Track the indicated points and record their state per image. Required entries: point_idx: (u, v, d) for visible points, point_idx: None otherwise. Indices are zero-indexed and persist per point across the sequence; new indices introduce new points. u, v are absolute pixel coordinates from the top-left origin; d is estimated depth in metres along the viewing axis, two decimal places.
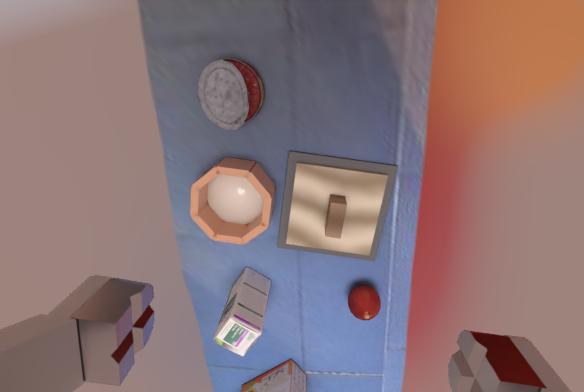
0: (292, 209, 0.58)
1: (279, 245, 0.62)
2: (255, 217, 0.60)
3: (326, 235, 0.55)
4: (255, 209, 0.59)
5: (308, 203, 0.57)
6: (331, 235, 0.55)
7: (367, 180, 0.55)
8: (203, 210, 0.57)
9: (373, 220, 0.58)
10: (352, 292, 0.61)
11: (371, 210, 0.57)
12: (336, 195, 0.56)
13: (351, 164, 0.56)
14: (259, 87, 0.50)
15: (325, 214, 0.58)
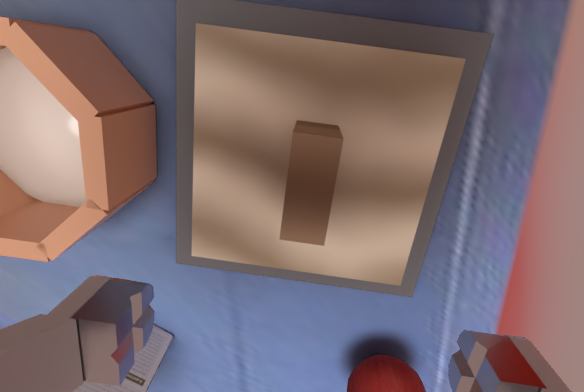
0: (198, 166, 0.22)
1: (180, 259, 0.25)
2: None
3: (282, 236, 0.19)
4: None
5: (237, 148, 0.21)
6: (297, 236, 0.19)
7: (403, 76, 0.19)
8: None
9: (415, 195, 0.21)
10: (357, 375, 0.25)
11: (412, 166, 0.21)
12: (312, 123, 0.20)
13: (356, 30, 0.19)
14: None
15: (286, 179, 0.22)
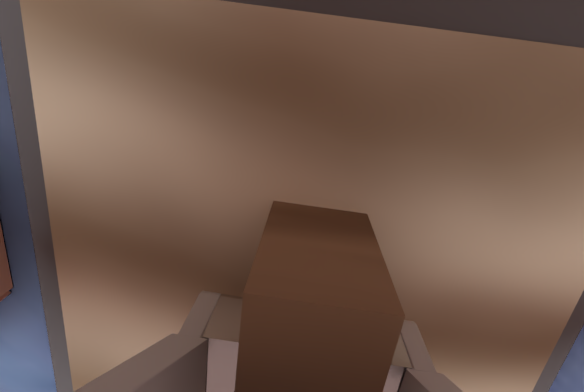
0: (69, 287, 0.10)
1: None
2: None
3: None
4: None
5: (147, 254, 0.10)
6: None
7: (530, 105, 0.08)
8: None
9: (527, 352, 0.10)
10: None
11: (528, 298, 0.09)
12: (309, 212, 0.08)
13: None
14: None
15: None
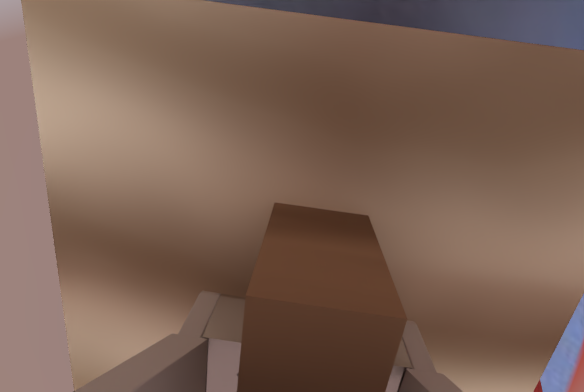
0: (70, 288, 0.10)
1: None
2: None
3: None
4: None
5: (149, 256, 0.10)
6: None
7: (531, 107, 0.08)
8: None
9: (528, 353, 0.10)
10: None
11: (528, 299, 0.09)
12: (310, 214, 0.09)
13: None
14: None
15: None
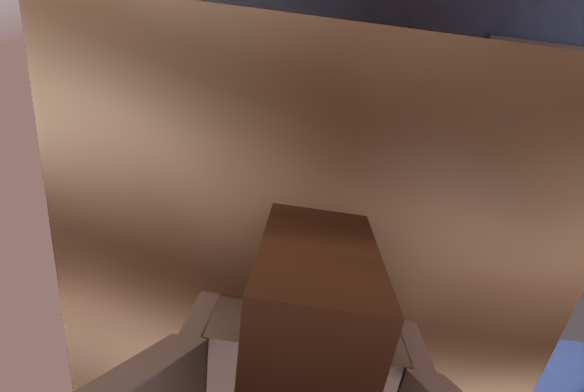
0: (68, 289, 0.10)
1: None
2: None
3: None
4: None
5: (147, 256, 0.10)
6: None
7: (530, 107, 0.08)
8: None
9: (527, 354, 0.10)
10: None
11: (527, 300, 0.09)
12: (308, 214, 0.08)
13: None
14: None
15: None
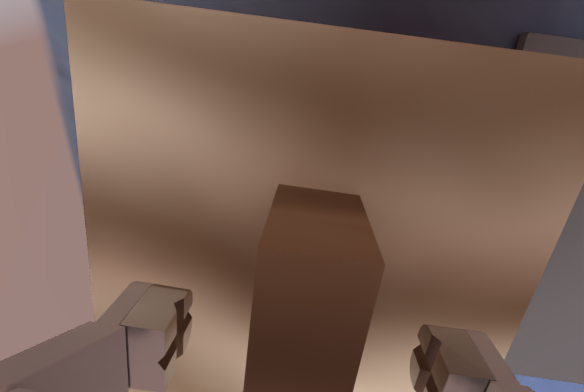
0: (98, 262, 0.12)
1: None
2: None
3: None
4: None
5: (168, 232, 0.11)
6: None
7: (497, 101, 0.09)
8: None
9: (501, 318, 0.11)
10: None
11: (500, 270, 0.11)
12: (309, 193, 0.10)
13: None
14: None
15: None
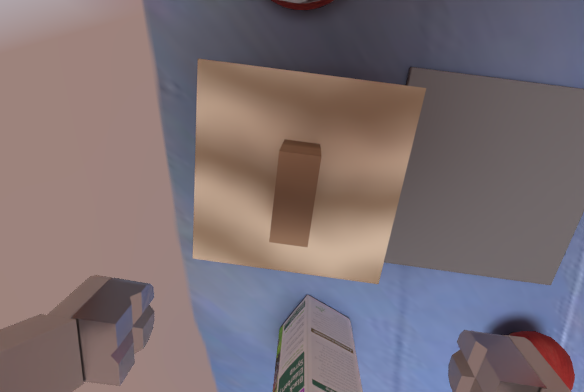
0: (199, 179, 0.25)
1: None
2: None
3: (272, 239, 0.22)
4: None
5: (233, 163, 0.24)
6: (284, 239, 0.22)
7: (374, 102, 0.22)
8: None
9: (388, 203, 0.25)
10: None
11: (384, 178, 0.24)
12: (297, 142, 0.23)
13: (538, 93, 0.27)
14: None
15: None
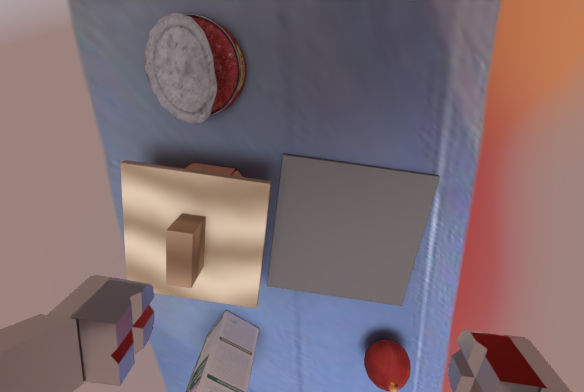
0: (127, 237, 0.36)
1: (270, 284, 0.45)
2: None
3: (168, 283, 0.33)
4: None
5: (149, 227, 0.36)
6: (175, 283, 0.33)
7: (237, 191, 0.34)
8: None
9: (256, 255, 0.36)
10: (371, 350, 0.44)
11: (251, 239, 0.35)
12: (189, 216, 0.34)
13: (372, 173, 0.39)
14: (237, 58, 0.33)
15: None
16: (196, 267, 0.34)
